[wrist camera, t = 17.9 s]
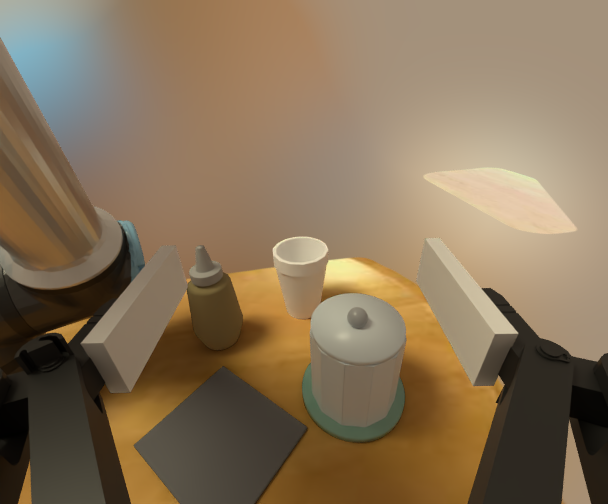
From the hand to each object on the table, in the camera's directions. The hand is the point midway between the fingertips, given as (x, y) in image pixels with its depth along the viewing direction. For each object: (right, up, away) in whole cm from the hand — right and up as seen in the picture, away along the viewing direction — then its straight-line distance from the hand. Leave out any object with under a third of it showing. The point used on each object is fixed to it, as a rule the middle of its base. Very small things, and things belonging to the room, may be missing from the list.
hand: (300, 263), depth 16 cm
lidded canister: (+7, -18, +25) cm, 32 cm away
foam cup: (0, -10, +41) cm, 42 cm away
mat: (-10, -23, +21) cm, 32 cm away
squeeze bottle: (-14, -14, +35) cm, 40 cm away
